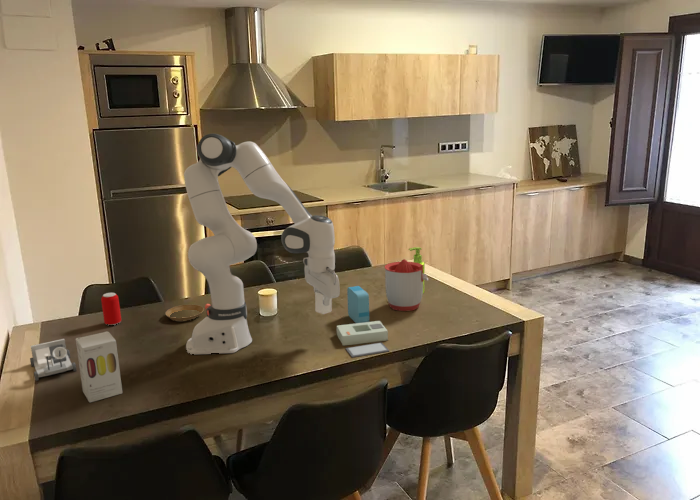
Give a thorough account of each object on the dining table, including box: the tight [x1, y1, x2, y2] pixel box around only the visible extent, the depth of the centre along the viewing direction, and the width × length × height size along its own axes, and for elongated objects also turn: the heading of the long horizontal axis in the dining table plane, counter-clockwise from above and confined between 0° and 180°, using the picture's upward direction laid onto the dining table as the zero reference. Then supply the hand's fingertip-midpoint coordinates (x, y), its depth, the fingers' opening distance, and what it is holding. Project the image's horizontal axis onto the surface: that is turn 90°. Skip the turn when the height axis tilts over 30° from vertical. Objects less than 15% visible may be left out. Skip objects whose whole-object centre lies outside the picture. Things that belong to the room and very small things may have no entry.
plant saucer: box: [164, 304, 205, 322], centre depth 226 cm, size 15×15×3 cm
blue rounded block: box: [346, 285, 370, 324], centre depth 217 cm, size 12×4×12 cm, turn 19°
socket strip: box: [336, 320, 389, 346], centre depth 201 cm, size 16×10×4 cm, turn 103°
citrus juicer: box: [384, 258, 429, 312], centre depth 228 cm, size 16×17×20 cm
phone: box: [345, 341, 390, 359], centre depth 191 cm, size 13×7×1 cm, turn 108°
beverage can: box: [100, 292, 122, 326], centre depth 219 cm, size 6×6×12 cm
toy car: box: [29, 338, 77, 382], centre depth 182 cm, size 18×10×12 cm
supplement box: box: [75, 331, 123, 404], centre depth 165 cm, size 10×9×17 cm
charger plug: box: [314, 291, 333, 315], centre depth 196 cm, size 4×4×7 cm
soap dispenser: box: [408, 246, 426, 294], centre depth 245 cm, size 6×7×20 cm
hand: (322, 302), depth 196 cm, fingers closed on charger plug, 5 cm apart
